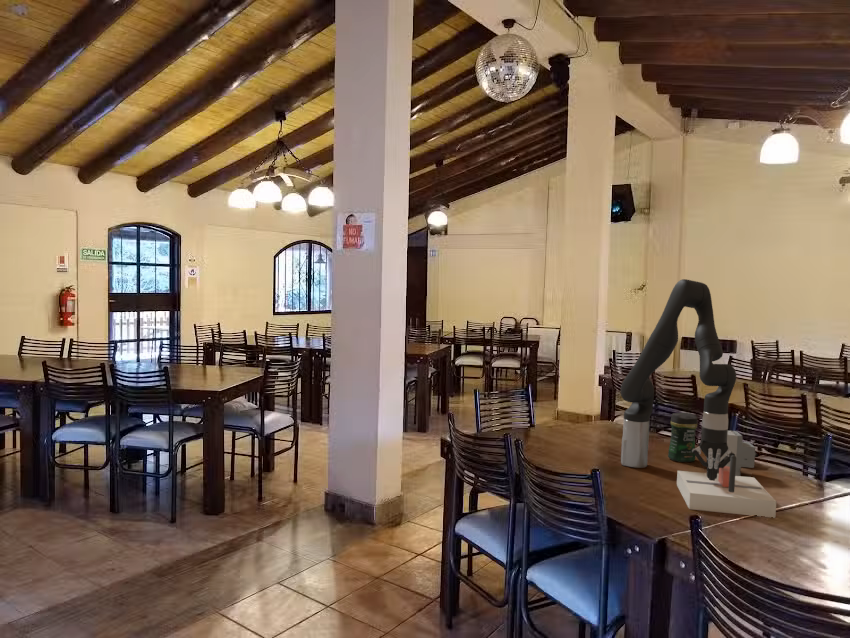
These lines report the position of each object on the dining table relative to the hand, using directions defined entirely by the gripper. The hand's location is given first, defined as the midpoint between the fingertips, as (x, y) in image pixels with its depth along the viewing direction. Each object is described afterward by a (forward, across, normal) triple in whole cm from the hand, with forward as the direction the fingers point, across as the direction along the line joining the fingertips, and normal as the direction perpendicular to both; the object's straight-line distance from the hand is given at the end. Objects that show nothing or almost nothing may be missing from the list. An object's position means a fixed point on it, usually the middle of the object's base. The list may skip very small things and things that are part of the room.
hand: (711, 479), depth 204 cm
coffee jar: (+7, -2, +46) cm, 47 cm away
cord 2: (+1, +4, -10) cm, 11 cm away
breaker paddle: (+1, +4, 0) cm, 4 cm away
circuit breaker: (+7, +14, +33) cm, 37 cm away
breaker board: (+6, +4, 0) cm, 7 cm away
